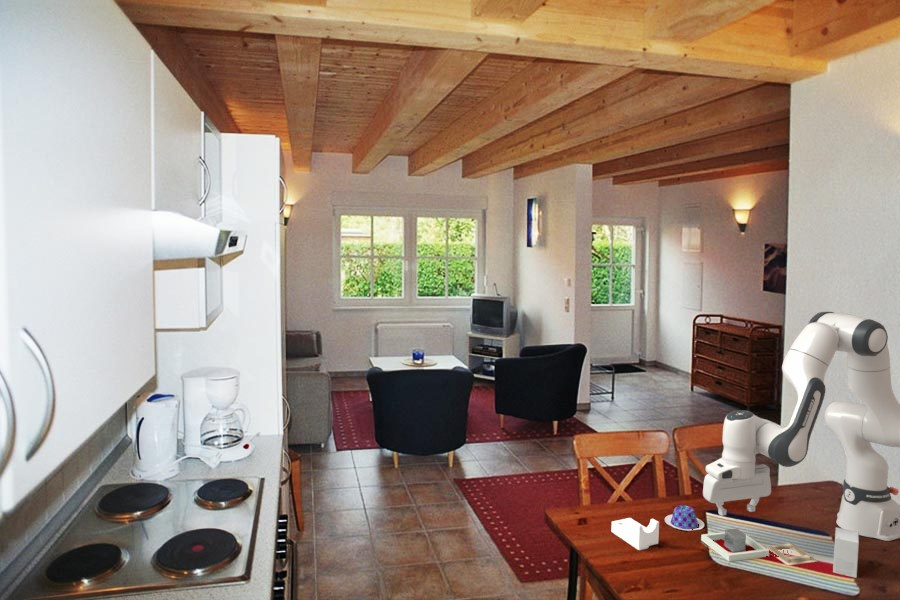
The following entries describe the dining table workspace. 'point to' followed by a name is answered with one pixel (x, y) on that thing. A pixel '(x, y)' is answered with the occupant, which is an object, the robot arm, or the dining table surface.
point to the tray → (757, 553)
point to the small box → (846, 552)
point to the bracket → (636, 532)
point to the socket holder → (789, 559)
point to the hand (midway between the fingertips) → (736, 512)
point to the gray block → (735, 540)
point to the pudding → (684, 518)
